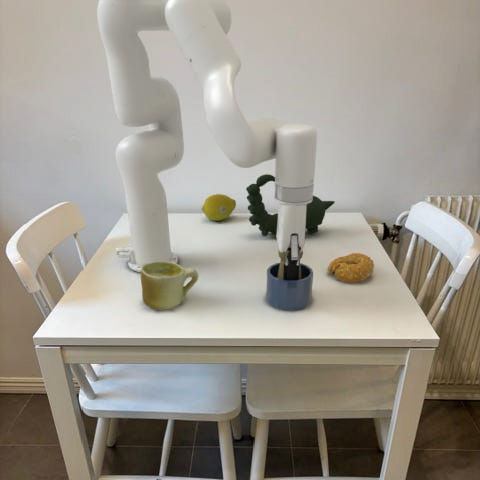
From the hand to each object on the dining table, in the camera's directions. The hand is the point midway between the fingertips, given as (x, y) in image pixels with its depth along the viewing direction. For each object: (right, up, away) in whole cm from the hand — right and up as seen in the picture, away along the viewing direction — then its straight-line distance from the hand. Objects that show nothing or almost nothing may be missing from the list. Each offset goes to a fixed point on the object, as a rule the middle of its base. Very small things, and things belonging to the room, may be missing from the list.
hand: (289, 275), depth 104 cm
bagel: (+16, +1, +14) cm, 21 cm away
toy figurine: (+4, +15, +37) cm, 40 cm away
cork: (0, -3, +2) cm, 4 cm away
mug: (-26, -6, +3) cm, 27 cm away
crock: (0, -5, +3) cm, 6 cm away
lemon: (-17, +22, +48) cm, 55 cm away
